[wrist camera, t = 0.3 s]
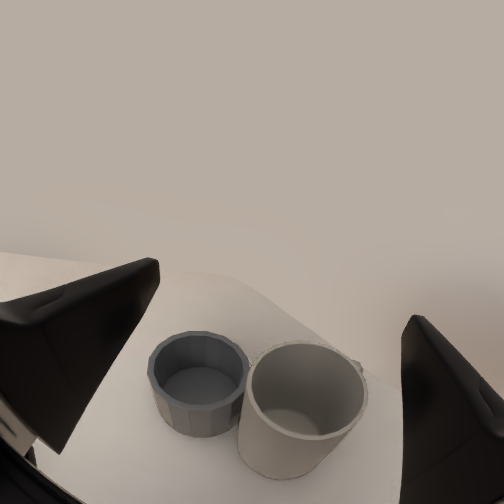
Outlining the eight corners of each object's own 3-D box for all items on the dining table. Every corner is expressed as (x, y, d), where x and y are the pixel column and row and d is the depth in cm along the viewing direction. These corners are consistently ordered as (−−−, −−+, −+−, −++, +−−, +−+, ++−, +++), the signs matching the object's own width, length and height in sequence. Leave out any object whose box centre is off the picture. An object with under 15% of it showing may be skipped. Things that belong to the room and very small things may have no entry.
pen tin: (229, 449, 18) (233, 424, 16) (142, 417, 20) (129, 386, 17) (253, 380, 25) (260, 345, 22) (178, 357, 26) (174, 320, 24)
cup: (219, 429, 20) (222, 367, 15) (311, 381, 25) (339, 313, 21) (270, 497, 15) (301, 465, 10) (362, 431, 20) (411, 371, 16)
